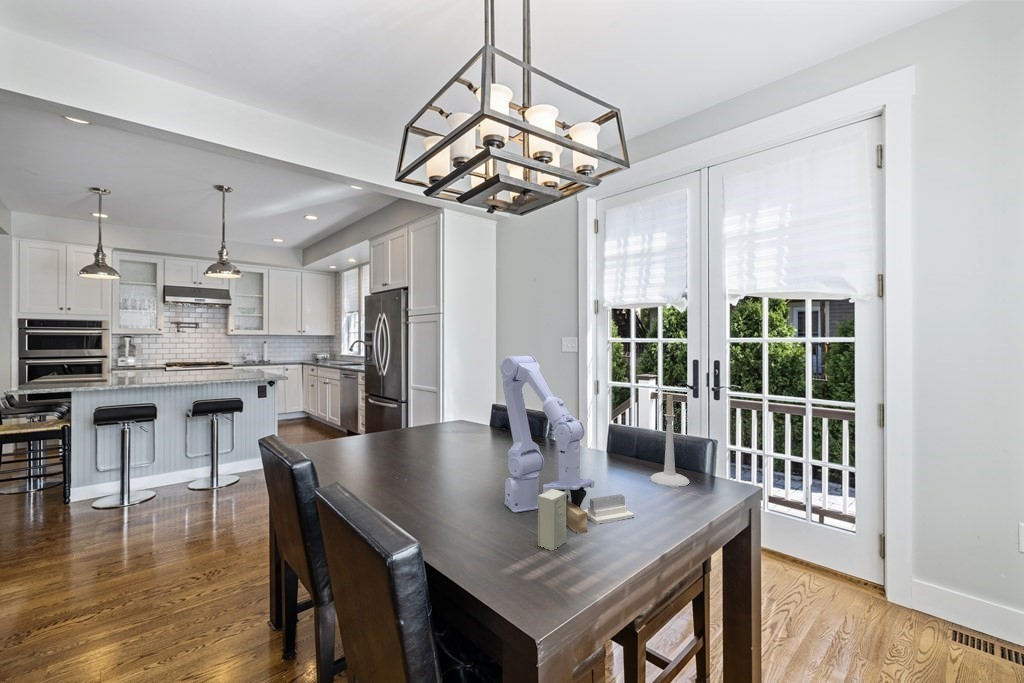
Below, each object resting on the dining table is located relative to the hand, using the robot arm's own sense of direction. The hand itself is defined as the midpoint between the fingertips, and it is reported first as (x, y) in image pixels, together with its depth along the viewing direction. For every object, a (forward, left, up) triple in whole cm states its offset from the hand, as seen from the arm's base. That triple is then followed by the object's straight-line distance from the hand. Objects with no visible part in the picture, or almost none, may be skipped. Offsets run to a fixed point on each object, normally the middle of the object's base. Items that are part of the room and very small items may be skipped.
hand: (569, 516), depth 120 cm
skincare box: (-10, -10, -2) cm, 14 cm away
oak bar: (0, 0, -2) cm, 2 cm away
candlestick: (+49, +18, -2) cm, 52 cm away
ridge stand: (+12, 0, -1) cm, 12 cm away
